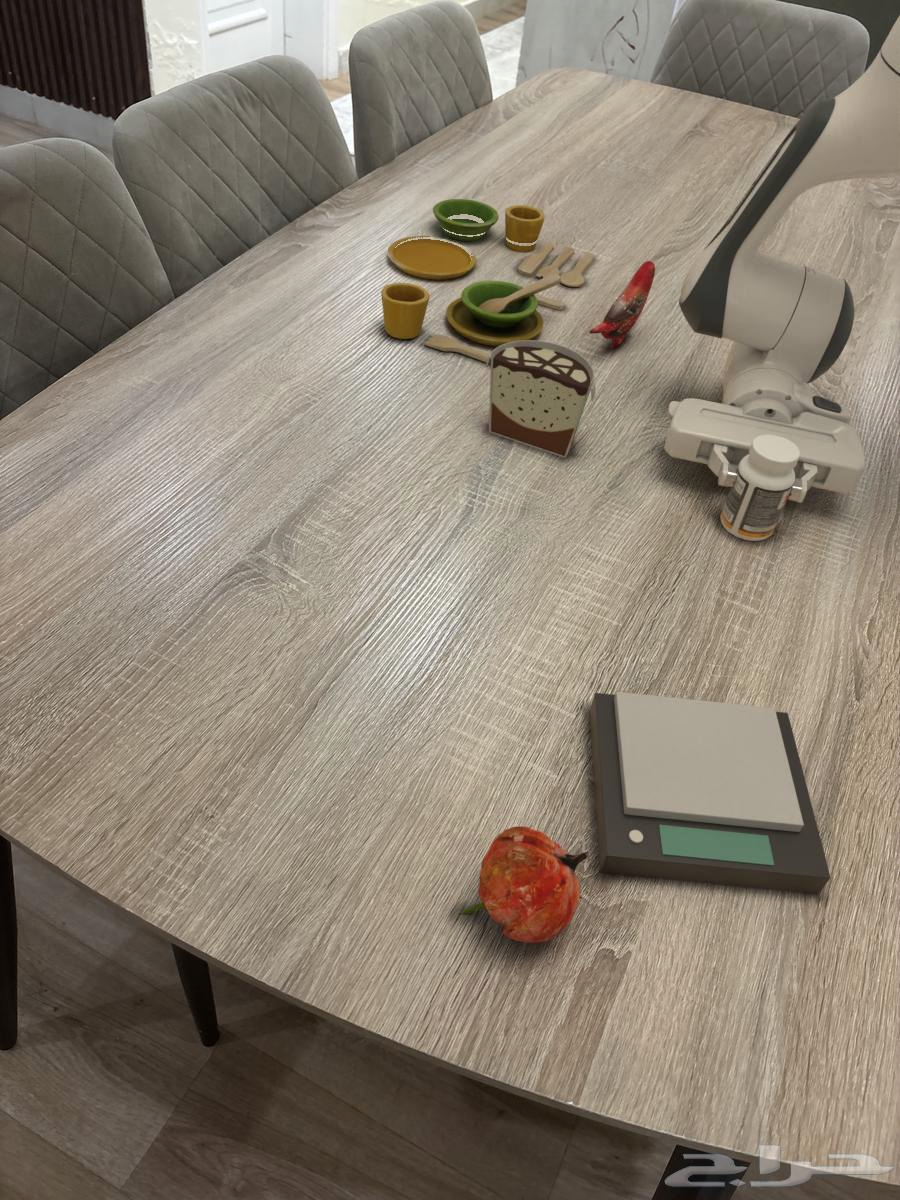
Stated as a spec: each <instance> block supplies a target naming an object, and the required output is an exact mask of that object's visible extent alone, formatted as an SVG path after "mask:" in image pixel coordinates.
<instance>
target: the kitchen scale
mask: <svg viewBox="0 0 900 1200" xmlns="http://www.w3.org/2000/svg"><path fill="white" fill-rule="evenodd" d="M588 713H589V729H590V742H591V755H592V756H591V758H592V759H591V760H592V775H593V788H594V790H593V791H594V804H595V805H594V806H595V820H596V821H595V822H596V835H597V851H598V864H599V865H598V867H599V873H601V874H611V875H619V876H629V877H639V878H648V879H649V878H650V879H659V880H670V881H679V882H688V883H699V884H700V883H701V884H707V885H708V884H710V885H720V886H729V887H740V888H750V889H760V890H771V891H780V892H788V893H799V894H810V895H820V893H821V892H822V891H823V889H824V888H825V887H826V885H827V884H828V882H829V881H830V880H831V873H830V870H829V866H828V863H827V859H826V855H825V850H824V847H823V842H822V839H821V835H820V832H819V827H818V824H817V823H818V822H817V820H816V817H815V812H814V809H813V804H812V801H811V796H810V793H809V790H808V786H807V785H808V784H807V781H806V777H805V774H804V770H803V766H802V763H801V759H800V755H799V751H798V747H797V744H796V739H795V736H794V732H793V728H792V724H791V720H790V716H789V713H788V712H785V711H784V712H782V711H776V708H775V707H768V706H759V705H749V704H741V703H729V702H720V701H711V700H703V699H702V700H701V699H693V698H683V697H673V696H665V695H664V696H662V695H653V694H643V693H634V692H626V691H615V694H611V693H603V692H594V695H593V698H592V701H591V704H590V707H589V712H588Z"/></svg>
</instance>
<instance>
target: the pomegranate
mask: <svg viewBox="0 0 900 1200" xmlns="http://www.w3.org/2000/svg"><path fill="white" fill-rule="evenodd" d="M590 853H591V850H587V851H584V852H582V853H579V854H575V855H574V854H570V853H569V852H568V850H566V849H565V848H563V846H561V845H560V844H559V843H558V842H555V841H552V839H551V838H550V837H549V836H548V835H546V834H545V833H543V832H542V831H540V830H537V829H533V828H531V827H528V826H512V827H509V828H508V829H504V830H503V831H502V832H501V833H499V834H498V835H497V836H496V837H495V838H494V839H493V840H492V842H491V844H490V846H489V848H488V850H487V852H486V854H485V855H484V857H483V859H482V861H481V865H480V866H481V868H480V869H481V870H480V871H479V883H478V889H477V892H478V896H479V899H480V901H481V902H479V903H478V904H475V905H473V906H471V907H468V908H466V909H464V910H462V911H460V912H459V914H461V915H467V914H471V913H473V912H475V911H482V910H484V909H486V912H487V914H488V915H489V916H490V917H491V918H492V920H494V922H495V923H497V924H499V925H500V927H502V932H503V935H504V936H505V937H507V938H508V939H510V940H514V941H517V942H523V943H531V944H532V943H541V942H547V941H550V940H551V939H553V938H555V937H556V936H558V935H560V934H561V933H562V931H564V929H565V928H566V927H567V926H568V925H569V923H570V921H571V920H572V918H573V917H574V915H575V914H576V912H577V910H578V907H579V905H580V898H581V895H582V894H581V893H582V892H581V891H582V890H581V885H580V881H579V878H578V875H577V873H576V870H577V867H578V865H580V863H582V862H584V861H585V860H587V859H588V858H589V857H590Z"/></svg>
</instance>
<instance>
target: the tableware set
mask: <svg viewBox="0 0 900 1200" xmlns="http://www.w3.org/2000/svg"><path fill="white" fill-rule="evenodd" d="M504 210H505V211H504V223H505V224H504V230H505V234H504V235H506V237H507V238H508V239H509V240H511V241H514V242H518V243H533V242H535V241H536V240H537V239H538V240H539V236H540V233H541V232H542V231H541V230H542V228H543V224H544V222H545V219H546V214H545V212H544V211H543V210H541V209H540V208H537V207H533V206H530V205H522V204H517V205H510V206H509V207H507V208H506V209H504ZM432 213H433V215H434V217H435V219H437V221H438V223H439V225H440V226H442V227H443V228H444V229H446V230H448V231H450V232H454V233H456V234H462V235H477V234H481V233H484V232H486V231H487V232H486V233H485V234H483V235H480V236H473V237H467V236H459V235H455V234H452V233H449V232H447V231H445V230H444V229H443V228H442V227H441V229H442V231H443V233H444V234H445V235H446V236H447V237H449V238H451V239H452V240H456V241H460V242H475V241H476V242H477V241H478V240H481V239H483V237H484V236H485V235H486V234H487V233H488V231H489V230H490V229H491V227H493V226H494V225H496V223H497V222H498V220H499V218H500V216H499V213H498V211H497V210H496V209H495V208H494V207H493V206H491V205H489V204H486V203H484V202H481V201H478V200H473V199H466V198H451V199H446V200H441V201H439V202H437V203H436V204H435V205H433V208H432ZM460 214H468V215H473V216H476V217H478V218H481V219H482V220H483V221H484V223H478V222H476V221H473V220H469V219H452V220H450V219H447V218H448V217H450V216H453V215H460ZM430 236H432V235H414V236H406V237H402V238H399V239H398V240H395V241H393V242H392V243H391V244H390V245H389V246H388V248H387V256H388V258H389V260H390V261H391V262H392V263H393V264H394V265H395V267H396V268H398V269H399V270H400V271H402V272H404V273H405V274H408V275H410V276H413V277H416V278H421V279H426V280H435V281H438V280H441V281H442V280H443V281H444V280H452V279H456V278H457V279H458V278H459V277H461V276H464V275H465V274H467V273H468V272H469V271H471V270H472V269H473V268H474V267H475V265H476V264H477V256H476V254H475V252H473V253H471V255H472V254H473V255H474V254H475V255H474V256H471V258H472V260H471V258H470V255H469V254H468V253H467V252H466V251H465V250H464V249H462V248H461V247H459V246H457V245H454V244H452V243H448V242H444V241H440V240H431V239H418V240H411V241H407V242H404V243H402V244H400V243H401V242H403V241H406V240H408V239H411V238H412V239H413V238H416V237H417V238H418V237H420V238H421V237H422V238H423V237H430ZM433 236H434V235H433ZM433 236H432V237H433ZM506 237H505V238H506ZM538 240H537V241H538ZM398 244H400V245H398ZM397 245H398V246H397ZM505 245H506V247H507V248H509V249H510V250H512V251H516V252H521V253H528V252H532V251H533V250H534V249H535V248H536V246H537V243H536V244H534V245H531V246H519V245H515V244H512V243H510V242H508V241H507V240H506V239H505ZM396 246H397V247H396ZM395 247H396V248H395ZM554 249H555V244H554V243H553V242H549V241H548V242H545V243H544V244H543V245H542V246H541V247H540V250H539V251H538V253H537V254H534V253H533V254H529V255H528V256H526V257H525V259H524V260H523V261H522V262H520V264H519V265H518V267H517V270H518V273H519V274H520V275H522V276H524V277H528V278H529V277H532V276H534V274H535V273H536V272H537V273H536V274H535V277H536V278H539V279H538V280H536V281H535V282H533V283H530V284H529V285H526V286H525V287H524V286H521V285H518V284H516V283H511V282H508V281H501V280H482V281H481V280H480V281H477V282H473V283H471V284H468V285H467V286H466V287H464V289H463V290H462V291H461V293H460V297H459V298H457V299H455V300H453V301H452V302H450V304H449V305H448V306H447V307H446V311H445V316H446V319H447V321H448V323H449V324H450V326H451V327H452V328H453V329H454V331H455V332H456V333H458V334H459V335H461V336H463V337H464V338H466V339H468V340H470V341H471V342H474V343H477V344H481V345H485V346H492V347H499V346H501V345H503V344H506V343H509V342H514V341H521V340H532V339H534V337H536V336H537V335H539V334H540V333H541V331H542V330H543V328H544V319H543V316H542V315H541V314H540V312H539V311H538V307H539V305H540V306H543V307H547V308H549V309H554V310H557V311H563V310H564V309H565V306H566V305H565V303H564V302H563V301H559V300H556V299H552V298H549V297H545V296H542V295H538V294H539V293H541V292H544V291H547V290H548V289H551V288H553V287H556V286H557V285H559V284H560V283H561V284H562V285H564V286H566V287H571V288H578V287H582V286H583V285H585V277H584V276H583V273H584V272H585V271H586V269H587V268H588V267H589V266H590V265H591V264H592V262H594V258H595V255H594V253H592V252H589V251H584V252H582V253H581V255H580V257H579V259H578V260H577V261H576V264H575V265H574V268H573V269H572V270H571V271H568V272H567V271H566V272H564V273H562V274H561V271H560V270H559V269H560V268H561V267H562V266H563V265H565V264H566V263H567V262H568V261H569V260H570V259H571V258H572V257H573V256H574V255H575V248H573V247H571V246H566V247H564V248H563V249H562V250H561V252H560V253H559V254H558V255H557V256H556V258H555V259H554V261H553V262H552V263H551V264H550V265H547V266H546V265H545V266H543V267H541V268H540V266H541V265H542V264H543V263H544V262H545V260H546V259H547V258H548V257H549V255H550V254H551V253H552V252H553V251H554ZM475 256H476V257H475ZM470 262H471V263H470ZM475 263H476V264H475ZM539 268H540V269H539ZM538 269H539V270H538ZM537 270H538V271H537ZM540 278H541V279H540ZM380 292H381V293H380V295H381V303H382V312H383V314H382V315H383V325H384V331H385V332H386V334H388V335H389V336H391V337H392V338H396V339H400V340H409V339H414V338H416V337H418V336H419V335H420V334H421V331H422V329H423V326H424V325H423V324H424V321H425V317H426V313H427V309H428V305H429V301H430V293H429V292H428V291H427V290H426V288H424V287H422V286H420V285H418V284H414V283H410V282H393V283H389V284H387V285H384V286H383V287H382V289H381V291H380ZM424 345H425V346H427V347H430V348H432V349H436V350H439V351H441V352H455V353H459V354H461V355H465V356H468V357H470V358H473V359H476V360H478V361H481V362H484V363H487V360H488V358H489V356H490V355H491V354H492V352H489V351H486V350H482V349H478V348H475V347H472V346H468V345H466V344H462V343H460V342H459V341H457V340H456V339H455V338H453V337H450V336H446V335H441V334H434V333H433V334H432V335H431V336H430V337H429V338H428V339H427V340H426V341H424Z"/></svg>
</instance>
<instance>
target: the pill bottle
mask: <svg viewBox="0 0 900 1200" xmlns="http://www.w3.org/2000/svg"><path fill="white" fill-rule="evenodd" d="M799 456H800V451H799V449H798V447H797V446H796V445H795V444H794V443H792V442H791V441H789V440H788V439H785V438H783V437H780V436H776V435H761V436H758V437H756V438H755V439H754V440H753V442H752V444H751V447H750V449H749V454H748V455H746V456H745V457H744V458H743V459H742V460H741V461H740V463H739V465H738V468H737V478H736V481H735V482H734V486H733V488H731V487H729V491H728V493H727V495H726V497H725V501H724V503H723V506H722V509H721V512H720V517H719V518H720V521H721V525H722V527H723V528H724V530H726V531H727V532H728V533H730V534H731V535H732V536H734V537H736V538H738V539H741V540H744V541H751V542H759V541H763V540H766V539H768V538H770V537H771V536H772V535H773V534H774V532H775V529H776V527H777V524H778V523H779V520H780V517H781V515H782V512H783V510H784V508H785V505H786V503H787V498H788V496H789V493H790V491H791V489H792V487H793V484H794V481H795V472H794V470H793V468H794V467H795V466H796V465H797V462H798V459H799Z"/></svg>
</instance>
